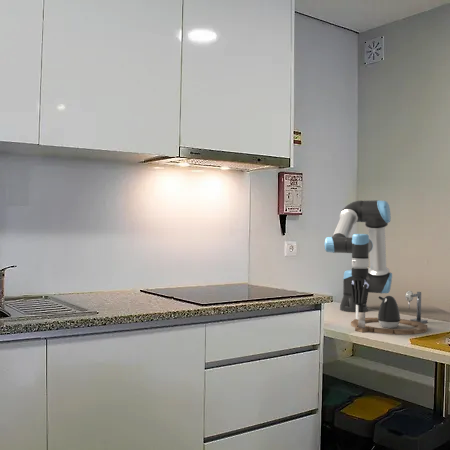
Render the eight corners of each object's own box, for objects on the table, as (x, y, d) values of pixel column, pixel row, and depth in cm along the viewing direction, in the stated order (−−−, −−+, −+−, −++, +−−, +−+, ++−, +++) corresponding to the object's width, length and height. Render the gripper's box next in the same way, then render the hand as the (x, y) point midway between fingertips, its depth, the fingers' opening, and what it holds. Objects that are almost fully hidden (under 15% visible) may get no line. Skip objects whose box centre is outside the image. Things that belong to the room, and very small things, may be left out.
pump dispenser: (382, 324, 269) (383, 293, 269) (403, 327, 263) (403, 295, 263) (373, 327, 261) (374, 295, 261) (394, 330, 255) (395, 297, 255)
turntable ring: (330, 325, 263) (330, 307, 263) (382, 318, 286) (382, 301, 286) (389, 338, 236) (390, 318, 236) (441, 329, 258) (442, 311, 258)
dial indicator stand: (417, 321, 280) (417, 288, 280) (427, 323, 275) (428, 290, 275) (400, 323, 272) (401, 290, 272) (411, 325, 267) (411, 291, 267)
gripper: (344, 266, 257) (343, 317, 257) (361, 268, 245) (360, 321, 245) (358, 266, 260) (357, 316, 260) (375, 268, 248) (374, 321, 248)
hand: (359, 319), depth 253 cm, fingers closed
